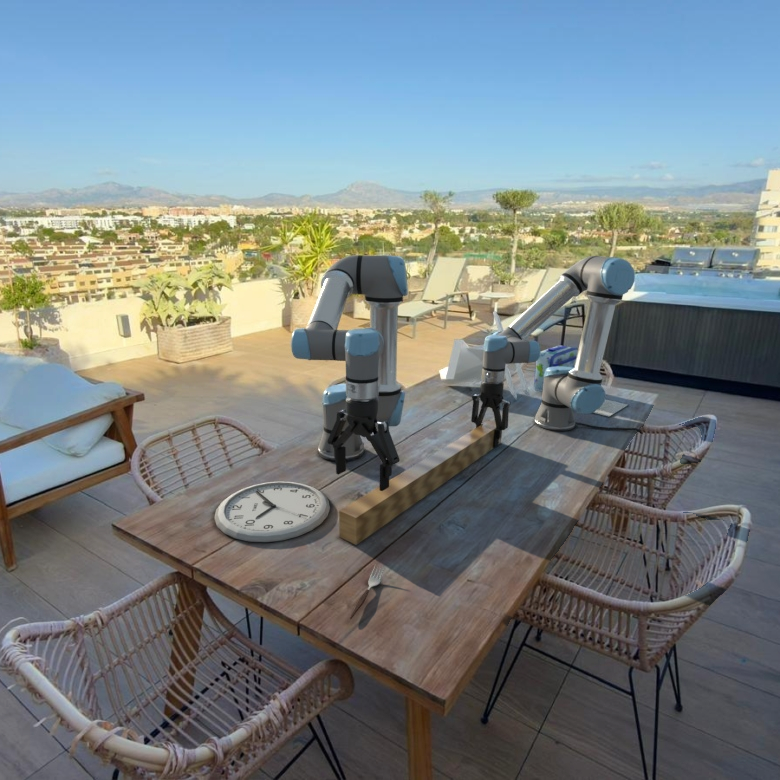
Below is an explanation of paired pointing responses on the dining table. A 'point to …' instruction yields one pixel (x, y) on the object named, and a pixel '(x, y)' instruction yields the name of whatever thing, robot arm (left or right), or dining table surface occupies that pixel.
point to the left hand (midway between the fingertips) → (362, 480)
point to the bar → (413, 484)
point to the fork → (372, 582)
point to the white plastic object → (475, 365)
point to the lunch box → (553, 362)
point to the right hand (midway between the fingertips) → (487, 444)
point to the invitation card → (610, 408)
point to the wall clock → (272, 511)
